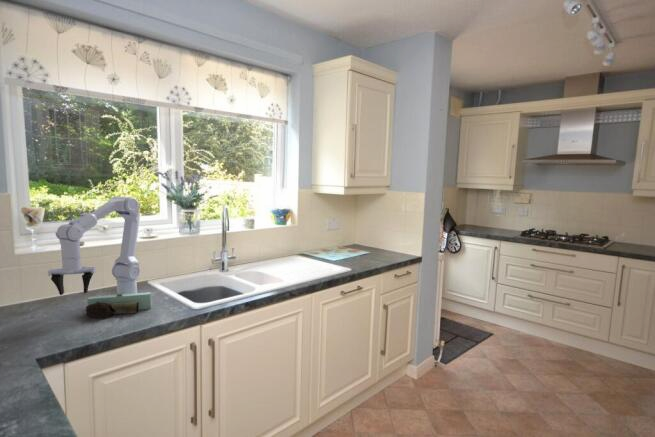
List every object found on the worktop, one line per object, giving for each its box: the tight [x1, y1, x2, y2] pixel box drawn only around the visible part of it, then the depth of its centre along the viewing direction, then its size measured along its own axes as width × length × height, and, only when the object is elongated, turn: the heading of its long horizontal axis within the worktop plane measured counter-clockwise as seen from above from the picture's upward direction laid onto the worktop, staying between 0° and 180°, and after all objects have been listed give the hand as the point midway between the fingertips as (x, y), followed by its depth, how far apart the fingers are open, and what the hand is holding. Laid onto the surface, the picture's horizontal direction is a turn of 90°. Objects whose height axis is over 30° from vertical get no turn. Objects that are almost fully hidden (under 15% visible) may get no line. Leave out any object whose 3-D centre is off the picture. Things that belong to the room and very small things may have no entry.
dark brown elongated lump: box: [85, 302, 139, 320], centre depth 143 cm, size 18×7×6 cm, turn 106°
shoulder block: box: [86, 291, 153, 311], centre depth 148 cm, size 3×22×7 cm, turn 108°
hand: (74, 293), depth 138 cm, fingers open, 7 cm apart
